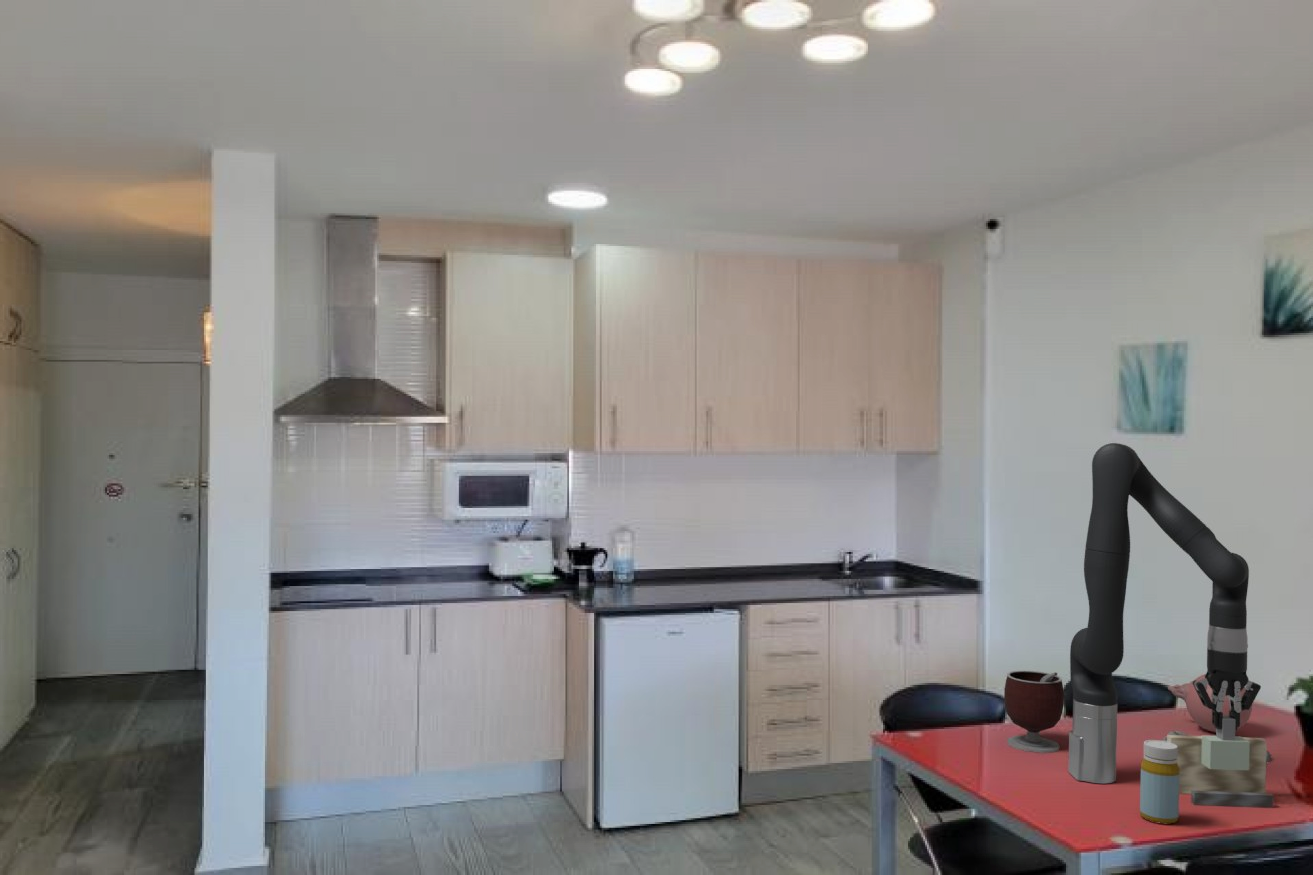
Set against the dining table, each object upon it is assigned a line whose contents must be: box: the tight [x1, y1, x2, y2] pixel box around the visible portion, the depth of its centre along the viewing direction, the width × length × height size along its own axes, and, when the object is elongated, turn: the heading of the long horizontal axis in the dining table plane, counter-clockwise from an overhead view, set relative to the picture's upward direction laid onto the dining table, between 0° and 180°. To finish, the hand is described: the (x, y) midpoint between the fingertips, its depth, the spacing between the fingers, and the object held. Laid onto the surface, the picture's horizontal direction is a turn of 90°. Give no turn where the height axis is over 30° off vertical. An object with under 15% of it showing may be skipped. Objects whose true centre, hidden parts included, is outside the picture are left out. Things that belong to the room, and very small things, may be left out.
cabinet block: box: [1201, 716, 1250, 770], centre depth 225 cm, size 8×4×10 cm, turn 87°
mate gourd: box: [1003, 670, 1065, 754], centre depth 261 cm, size 16×14×20 cm
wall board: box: [1166, 734, 1274, 808], centre depth 225 cm, size 20×9×12 cm, turn 87°
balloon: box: [1167, 673, 1253, 733], centre depth 278 cm, size 15×20×15 cm
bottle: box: [1139, 739, 1180, 825], centre depth 213 cm, size 7×7×15 cm
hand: (1225, 728), depth 225 cm, fingers closed on cabinet block, 2 cm apart
